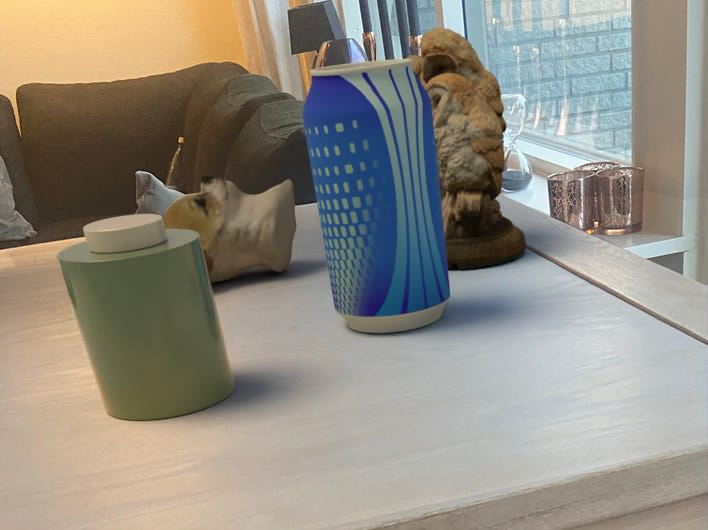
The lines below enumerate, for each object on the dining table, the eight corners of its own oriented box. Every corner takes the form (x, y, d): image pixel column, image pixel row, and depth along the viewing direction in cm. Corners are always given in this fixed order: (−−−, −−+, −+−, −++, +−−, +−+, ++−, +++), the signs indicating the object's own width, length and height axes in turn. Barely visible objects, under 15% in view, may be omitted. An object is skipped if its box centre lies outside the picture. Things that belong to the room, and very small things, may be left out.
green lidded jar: (83, 423, 57) (22, 242, 51) (134, 377, 63) (86, 213, 58) (211, 416, 56) (164, 232, 50) (250, 371, 62) (212, 203, 57)
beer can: (315, 323, 70) (271, 73, 61) (407, 297, 75) (377, 58, 66) (380, 344, 65) (341, 71, 56) (475, 314, 69) (453, 55, 60)
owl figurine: (355, 246, 92) (324, 37, 82) (463, 224, 96) (445, 23, 86) (436, 279, 78) (410, 34, 69) (558, 252, 82) (549, 18, 73)
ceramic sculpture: (291, 166, 77) (104, 203, 75) (317, 276, 82) (142, 314, 80) (282, 152, 86) (114, 185, 84) (306, 253, 90) (148, 286, 89)
